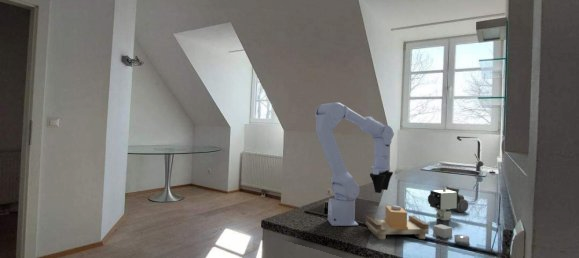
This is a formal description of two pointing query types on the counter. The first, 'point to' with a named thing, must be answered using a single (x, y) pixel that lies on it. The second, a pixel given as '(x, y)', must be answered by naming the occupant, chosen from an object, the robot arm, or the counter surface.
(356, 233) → the counter surface
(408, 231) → the stand
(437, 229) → the rubber block
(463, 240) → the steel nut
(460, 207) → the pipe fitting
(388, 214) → the housing
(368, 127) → the robot arm
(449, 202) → the pneumatic valve
